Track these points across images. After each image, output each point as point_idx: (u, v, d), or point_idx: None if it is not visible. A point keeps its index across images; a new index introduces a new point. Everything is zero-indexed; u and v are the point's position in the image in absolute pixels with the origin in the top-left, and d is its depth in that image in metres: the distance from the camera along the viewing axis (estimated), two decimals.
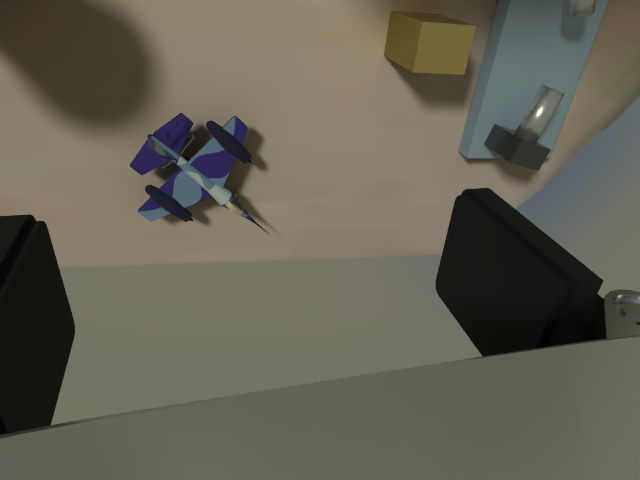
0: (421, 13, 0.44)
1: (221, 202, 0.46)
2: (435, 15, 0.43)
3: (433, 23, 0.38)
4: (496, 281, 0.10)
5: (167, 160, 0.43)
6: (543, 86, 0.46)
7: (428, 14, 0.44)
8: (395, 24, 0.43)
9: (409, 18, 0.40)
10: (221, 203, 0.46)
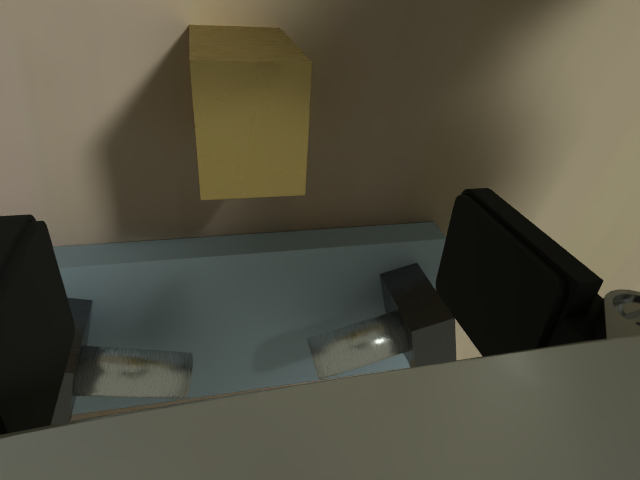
0: None
1: None
2: None
3: (309, 92, 0.16)
4: (496, 281, 0.10)
5: None
6: (190, 358, 0.24)
7: None
8: (262, 33, 0.20)
9: (295, 47, 0.18)
10: None
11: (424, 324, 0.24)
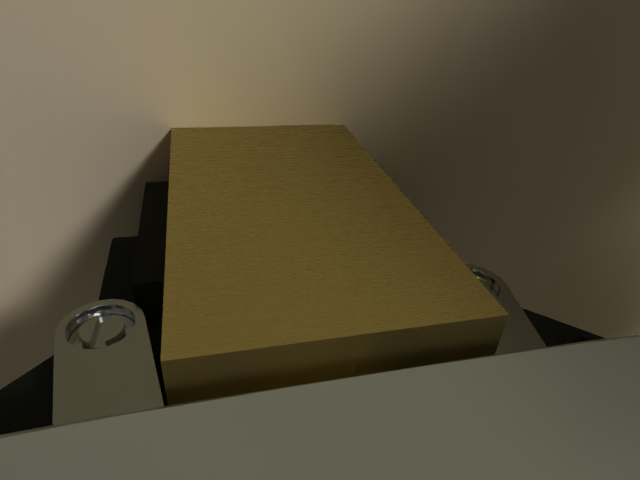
0: None
1: None
2: None
3: None
4: None
5: None
6: None
7: None
8: (319, 149, 0.10)
9: (413, 212, 0.08)
10: None
11: None
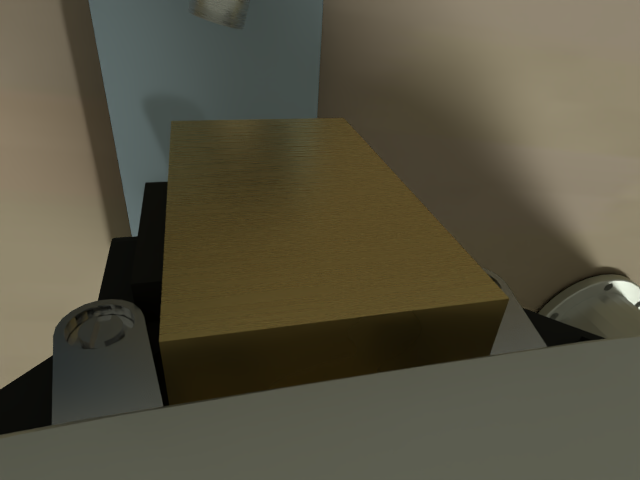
0: None
1: None
2: None
3: None
4: None
5: None
6: (243, 24, 0.21)
7: None
8: (319, 141, 0.10)
9: (413, 201, 0.08)
10: None
11: None
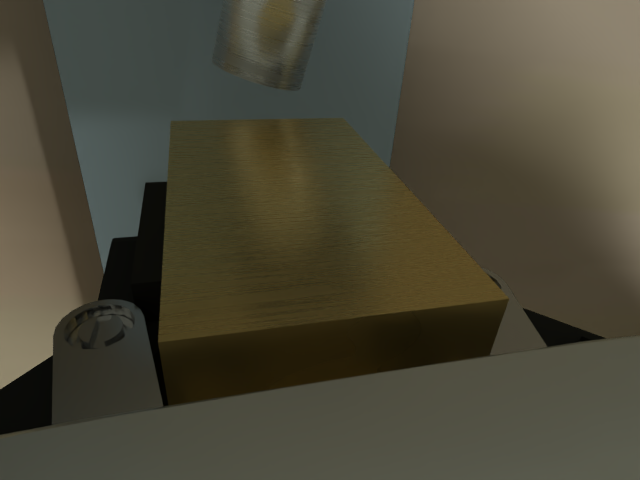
0: None
1: None
2: None
3: None
4: None
5: None
6: None
7: None
8: (319, 141, 0.10)
9: (413, 201, 0.08)
10: None
11: None
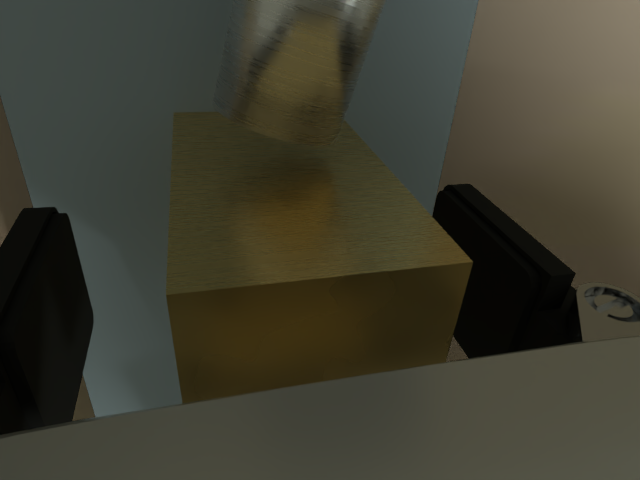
0: None
1: None
2: None
3: (455, 317, 0.07)
4: (475, 275, 0.10)
5: None
6: None
7: None
8: None
9: (395, 181, 0.08)
10: None
11: None
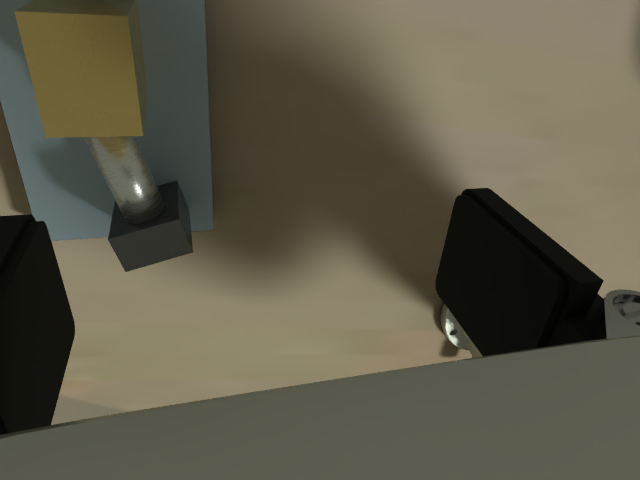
0: (142, 55, 0.25)
1: None
2: (144, 79, 0.25)
3: (129, 42, 0.19)
4: (496, 281, 0.10)
5: None
6: None
7: (143, 67, 0.25)
8: None
9: (128, 7, 0.21)
10: None
11: (183, 228, 0.27)
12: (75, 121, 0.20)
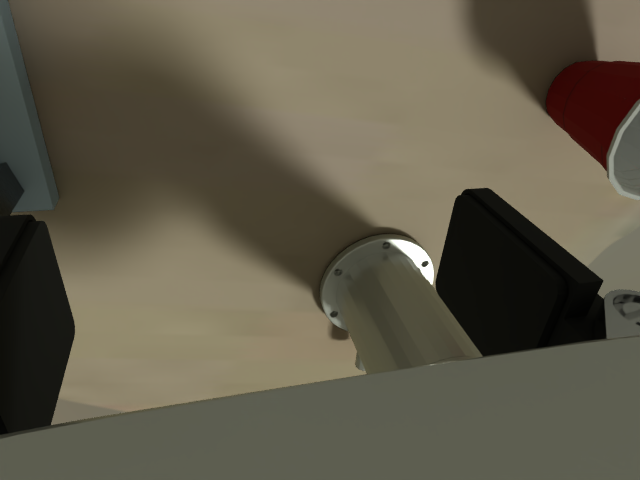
0: None
1: None
2: None
3: None
4: (496, 281, 0.10)
5: None
6: None
7: None
8: None
9: None
10: None
11: None
12: None
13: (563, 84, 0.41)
